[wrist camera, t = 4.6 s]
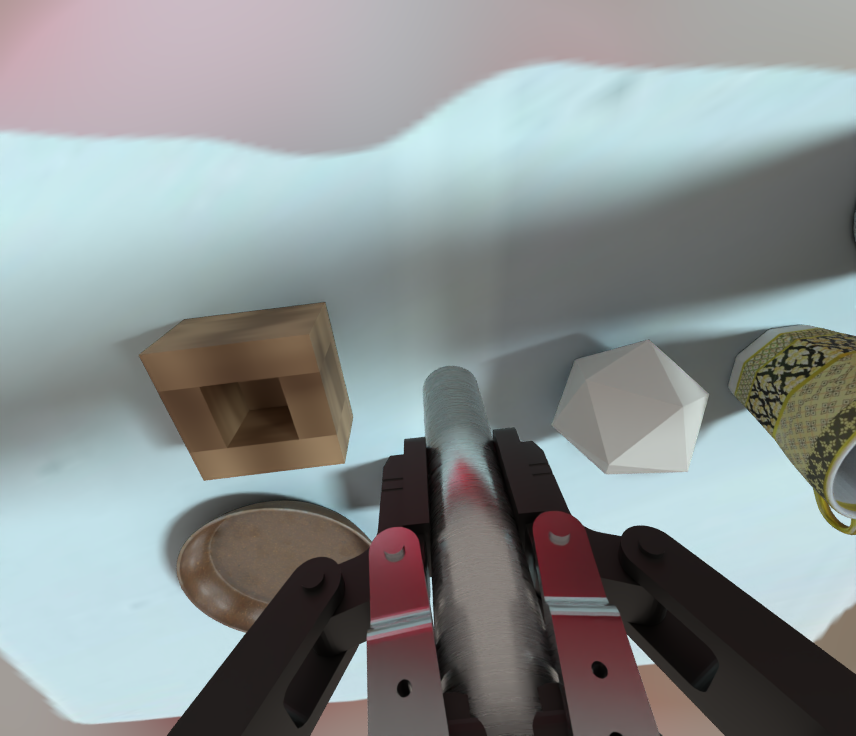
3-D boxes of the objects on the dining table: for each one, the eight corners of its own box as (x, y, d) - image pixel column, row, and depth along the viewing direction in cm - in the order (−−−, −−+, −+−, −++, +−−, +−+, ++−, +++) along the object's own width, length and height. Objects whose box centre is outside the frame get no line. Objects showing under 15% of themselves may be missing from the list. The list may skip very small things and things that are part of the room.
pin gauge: (476, 362, 17) (587, 730, 6) (479, 409, 18) (575, 785, 7) (419, 369, 17) (434, 743, 6) (426, 415, 18) (447, 796, 7)
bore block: (325, 302, 25) (309, 334, 21) (353, 416, 29) (344, 463, 25) (184, 319, 25) (138, 355, 21) (233, 431, 29) (203, 480, 25)
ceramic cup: (721, 312, 27) (873, 389, 18) (866, 291, 27) (1089, 359, 18) (685, 456, 33) (786, 564, 25) (804, 439, 33) (947, 542, 25)
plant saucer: (146, 528, 34) (125, 560, 31) (322, 452, 31) (314, 481, 29) (272, 626, 42) (263, 658, 40) (420, 573, 39) (422, 604, 37)
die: (522, 413, 31) (613, 523, 26) (537, 353, 24) (667, 491, 19) (602, 363, 33) (701, 458, 28) (639, 292, 25) (781, 405, 21)
